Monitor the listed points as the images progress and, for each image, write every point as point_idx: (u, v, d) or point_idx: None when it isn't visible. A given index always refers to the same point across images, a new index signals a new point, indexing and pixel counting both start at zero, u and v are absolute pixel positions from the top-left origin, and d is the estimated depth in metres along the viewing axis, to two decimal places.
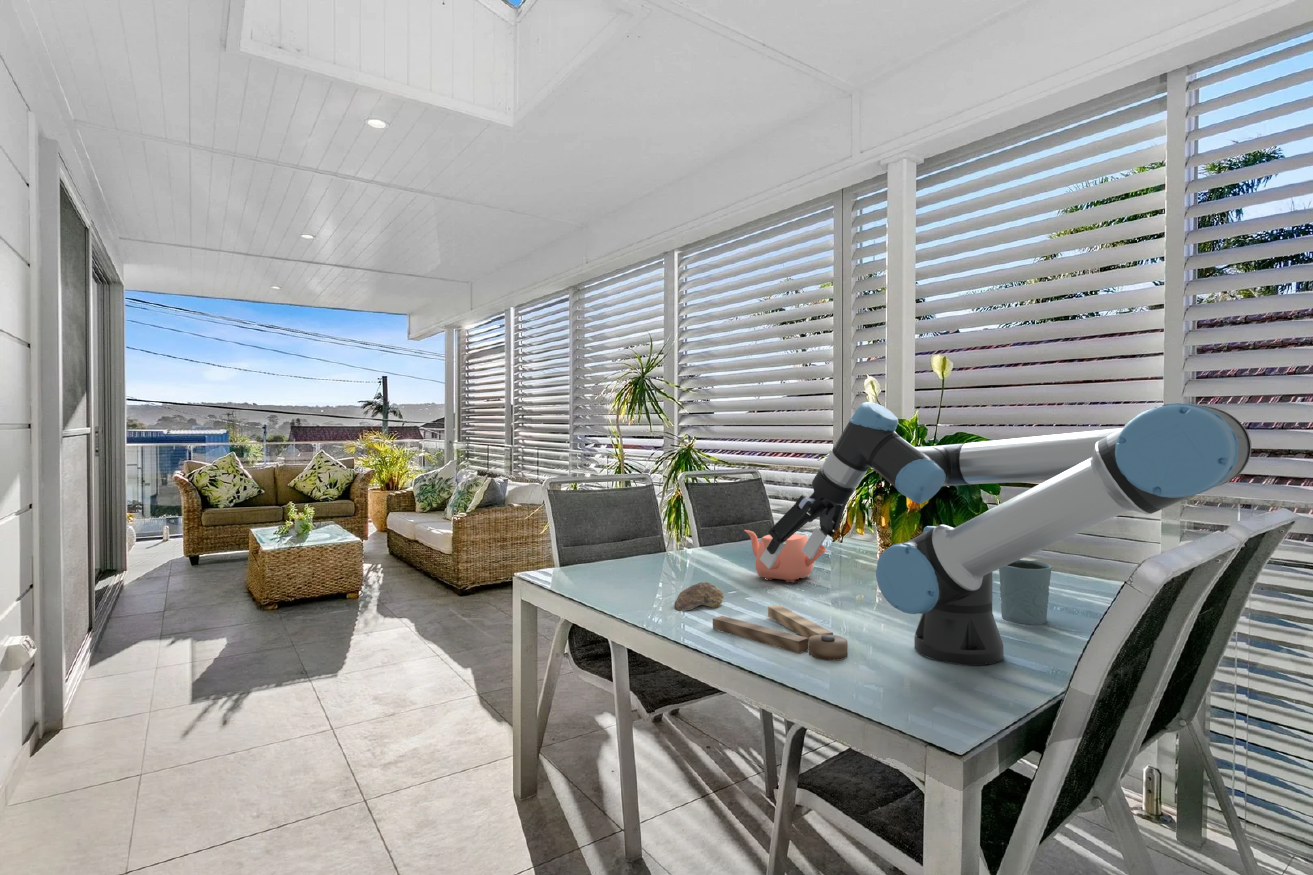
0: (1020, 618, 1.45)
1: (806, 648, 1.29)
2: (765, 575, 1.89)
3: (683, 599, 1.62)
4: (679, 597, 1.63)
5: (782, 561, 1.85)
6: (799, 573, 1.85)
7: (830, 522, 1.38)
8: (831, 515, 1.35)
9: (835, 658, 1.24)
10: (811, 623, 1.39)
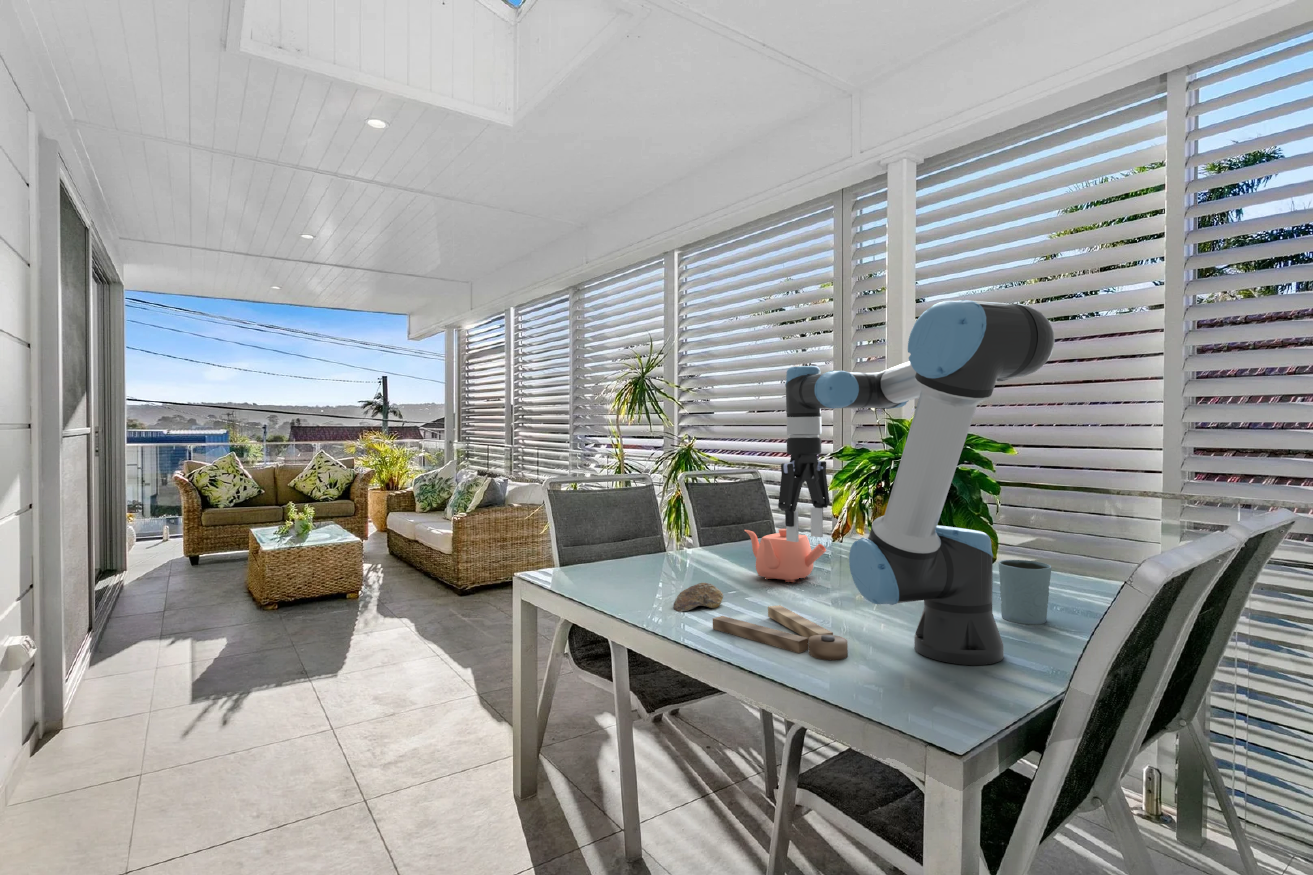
0: (1020, 618, 1.45)
1: (806, 648, 1.29)
2: (765, 575, 1.89)
3: (682, 599, 1.62)
4: (678, 597, 1.63)
5: (782, 561, 1.85)
6: (799, 573, 1.85)
7: (819, 489, 1.54)
8: (816, 476, 1.53)
9: (835, 658, 1.24)
10: (811, 623, 1.39)
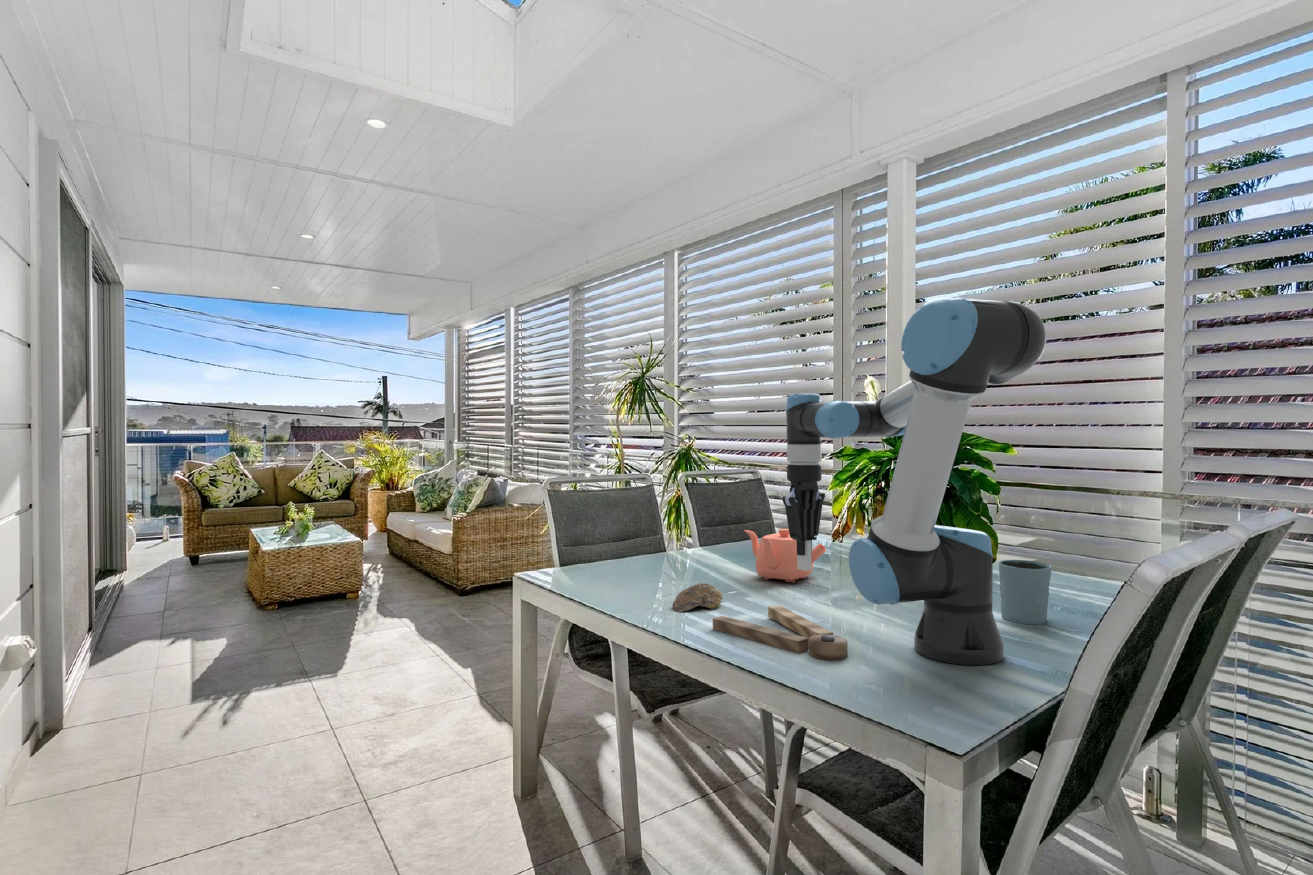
0: (1020, 618, 1.45)
1: (806, 648, 1.29)
2: (765, 575, 1.89)
3: (681, 600, 1.61)
4: (677, 598, 1.62)
5: (782, 561, 1.85)
6: (799, 573, 1.85)
7: (812, 519, 1.53)
8: (813, 504, 1.52)
9: (835, 658, 1.24)
10: (811, 623, 1.39)
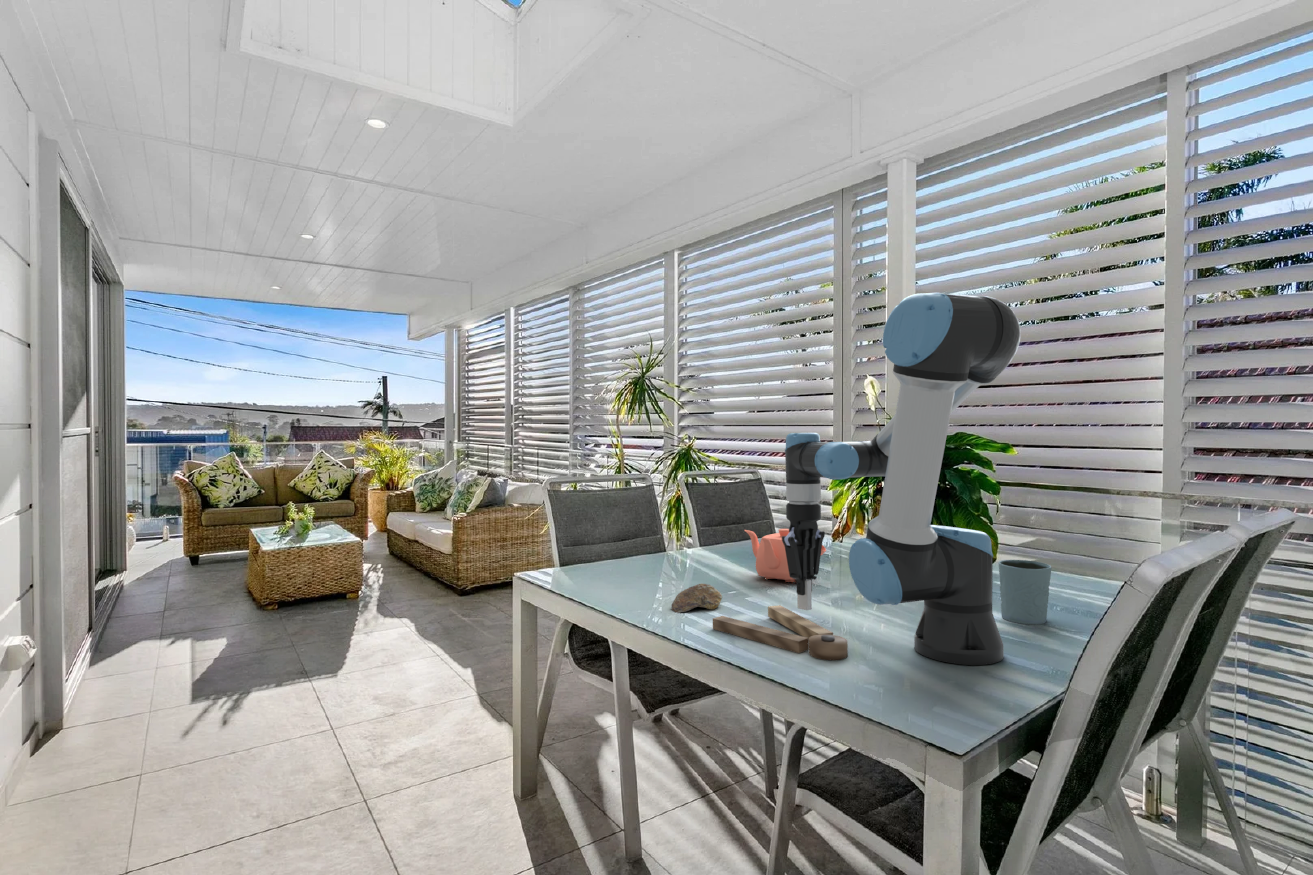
0: (1020, 618, 1.45)
1: (806, 648, 1.29)
2: (765, 575, 1.89)
3: (680, 600, 1.61)
4: (676, 598, 1.62)
5: (782, 561, 1.85)
6: None
7: (812, 558, 1.52)
8: (813, 543, 1.52)
9: (835, 658, 1.24)
10: (811, 623, 1.39)
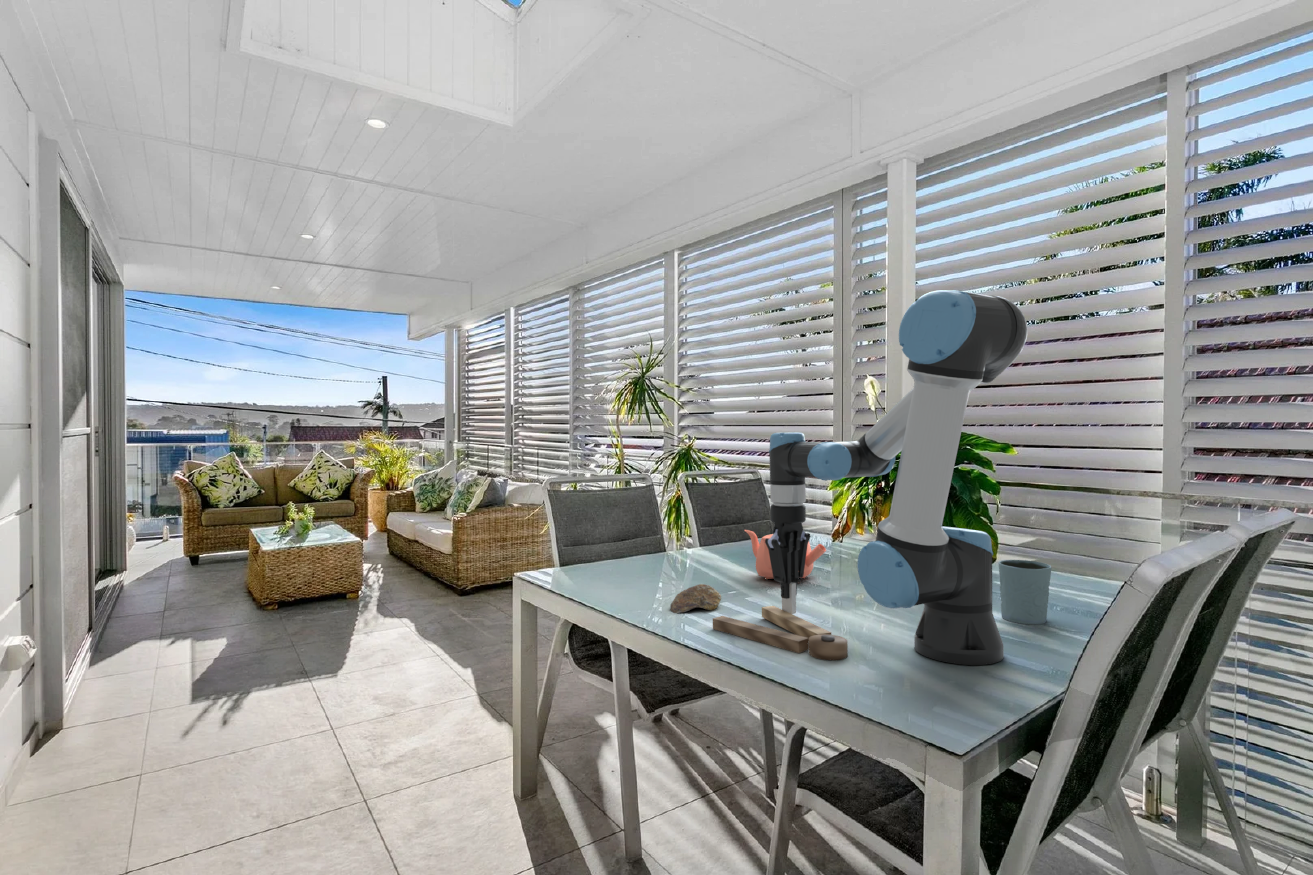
0: (1020, 618, 1.45)
1: (806, 648, 1.29)
2: (765, 575, 1.89)
3: (679, 601, 1.60)
4: (675, 599, 1.61)
5: None
6: None
7: (796, 561, 1.49)
8: (797, 545, 1.48)
9: (835, 658, 1.24)
10: (808, 623, 1.38)
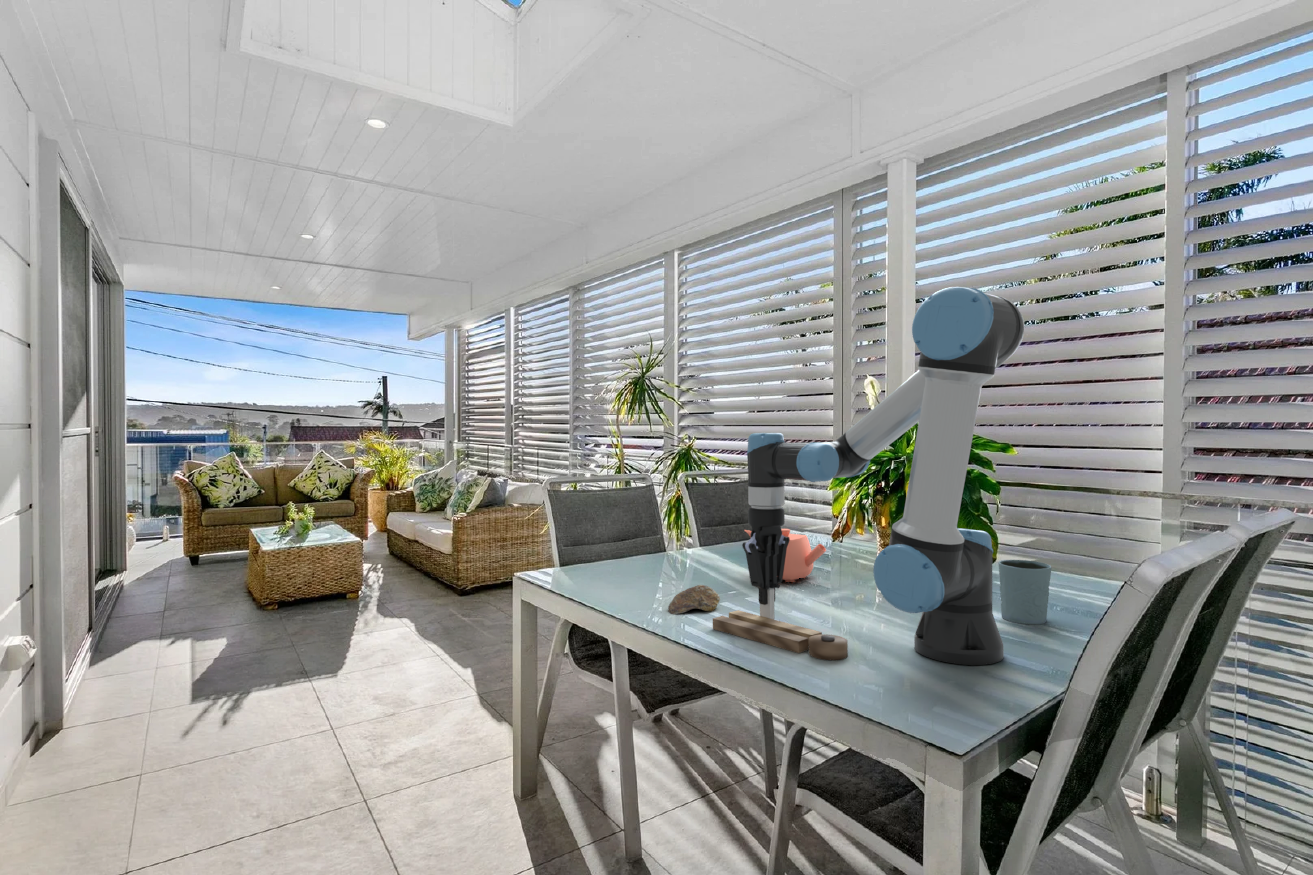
0: (1020, 618, 1.45)
1: (806, 648, 1.29)
2: None
3: (677, 602, 1.59)
4: (673, 600, 1.61)
5: None
6: (799, 573, 1.85)
7: (775, 566, 1.44)
8: (776, 549, 1.43)
9: (835, 658, 1.24)
10: (790, 625, 1.37)
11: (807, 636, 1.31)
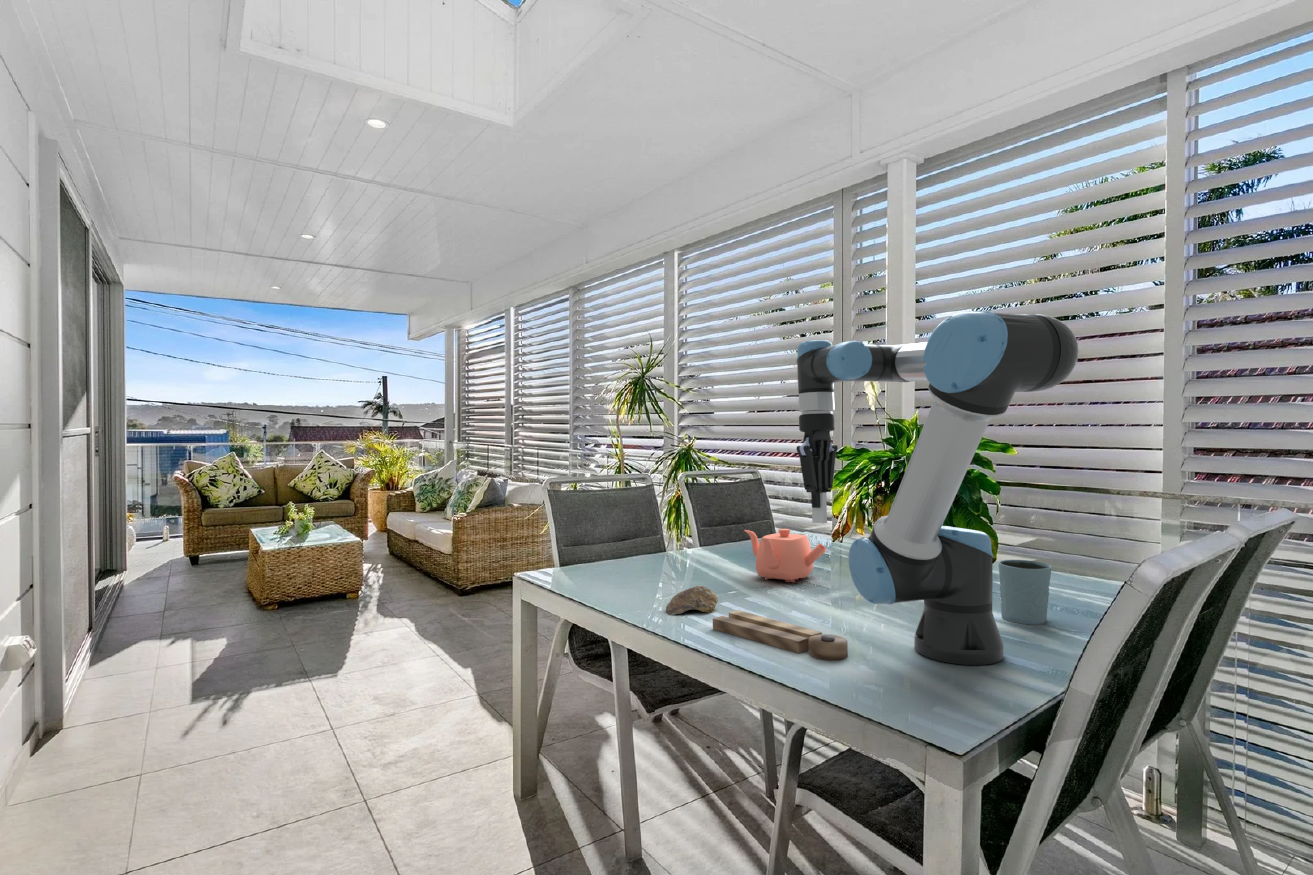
0: (1020, 618, 1.45)
1: (806, 648, 1.29)
2: (765, 575, 1.89)
3: (675, 603, 1.59)
4: (671, 600, 1.60)
5: (782, 561, 1.85)
6: (799, 573, 1.85)
7: (826, 471, 1.48)
8: (827, 454, 1.48)
9: (835, 658, 1.24)
10: (790, 625, 1.37)
11: (807, 636, 1.31)
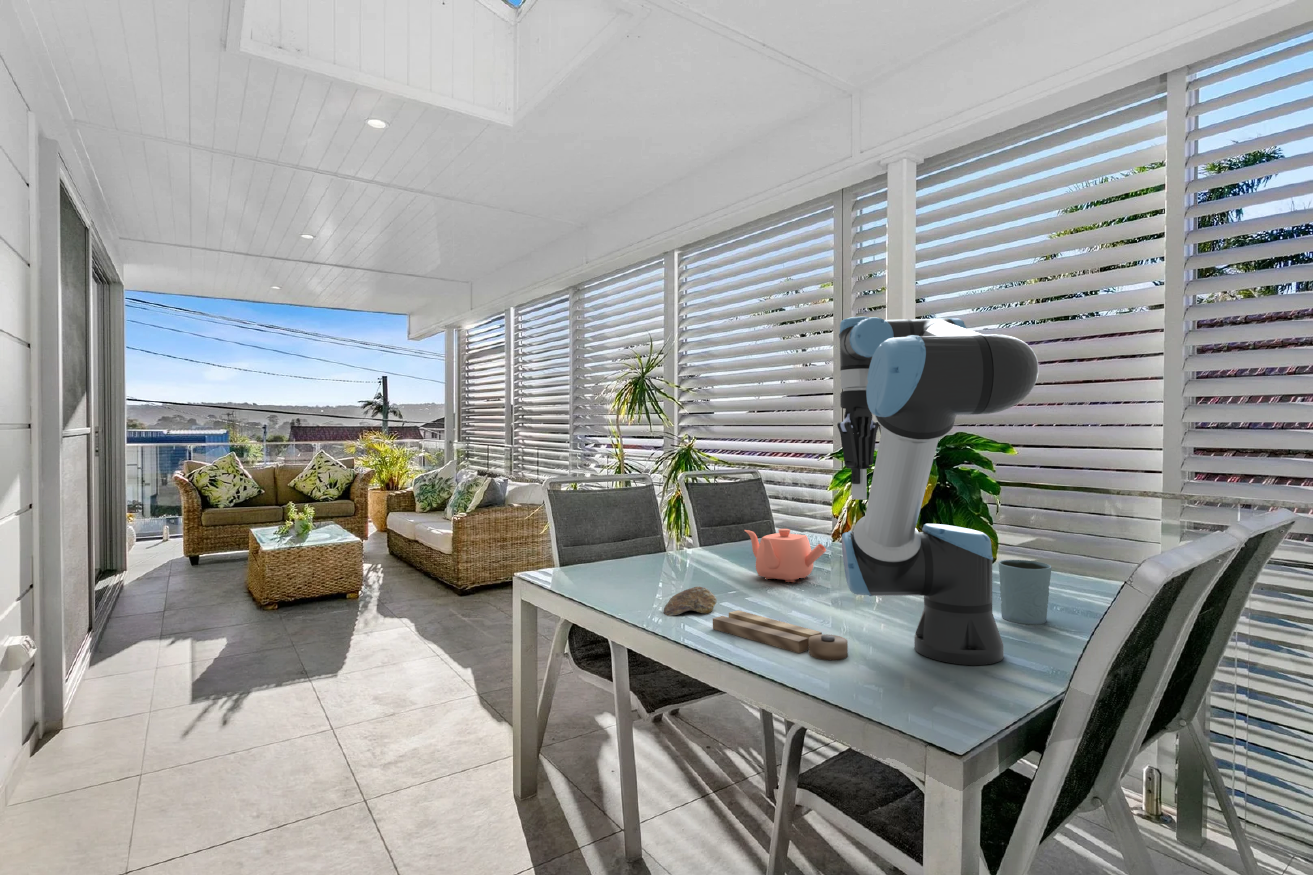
0: (1020, 618, 1.45)
1: (806, 648, 1.29)
2: (765, 575, 1.89)
3: (673, 603, 1.58)
4: (670, 601, 1.59)
5: (782, 561, 1.85)
6: (799, 573, 1.85)
7: (867, 448, 1.49)
8: (868, 431, 1.48)
9: (835, 658, 1.24)
10: (790, 625, 1.37)
11: (807, 636, 1.31)
